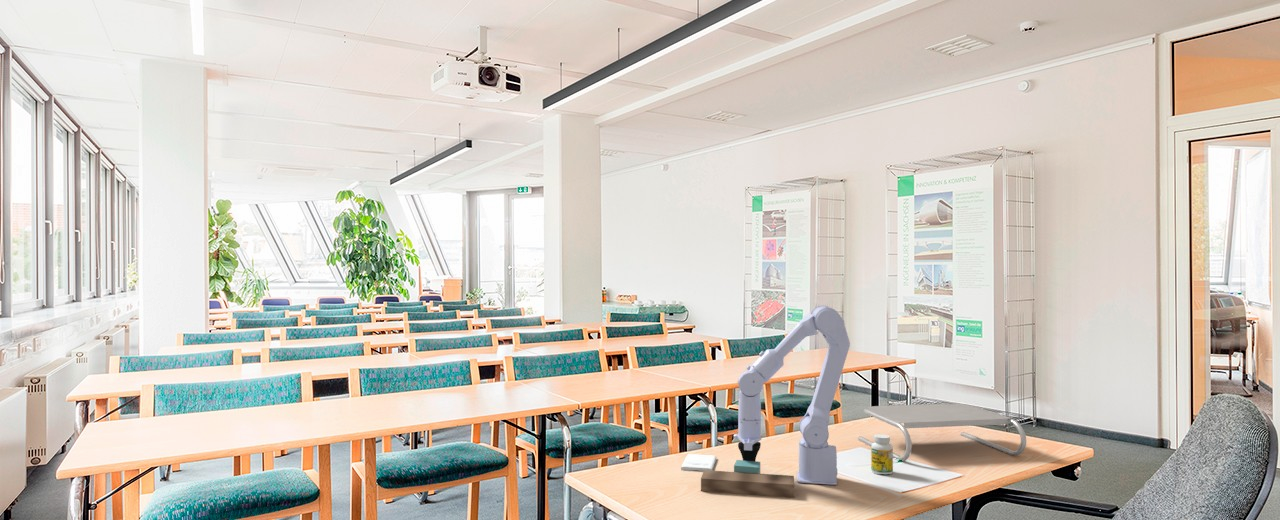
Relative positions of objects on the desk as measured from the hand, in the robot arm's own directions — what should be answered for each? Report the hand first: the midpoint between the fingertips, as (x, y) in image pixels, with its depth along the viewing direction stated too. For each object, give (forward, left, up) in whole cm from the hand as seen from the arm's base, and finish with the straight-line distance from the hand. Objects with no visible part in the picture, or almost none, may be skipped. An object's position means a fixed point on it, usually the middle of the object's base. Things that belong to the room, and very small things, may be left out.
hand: (749, 471), depth 181 cm
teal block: (0, +4, -1) cm, 4 cm away
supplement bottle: (-34, -11, -2) cm, 36 cm away
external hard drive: (+14, -9, -2) cm, 16 cm away
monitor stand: (-54, -39, -2) cm, 67 cm away
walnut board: (0, +10, -1) cm, 10 cm away
